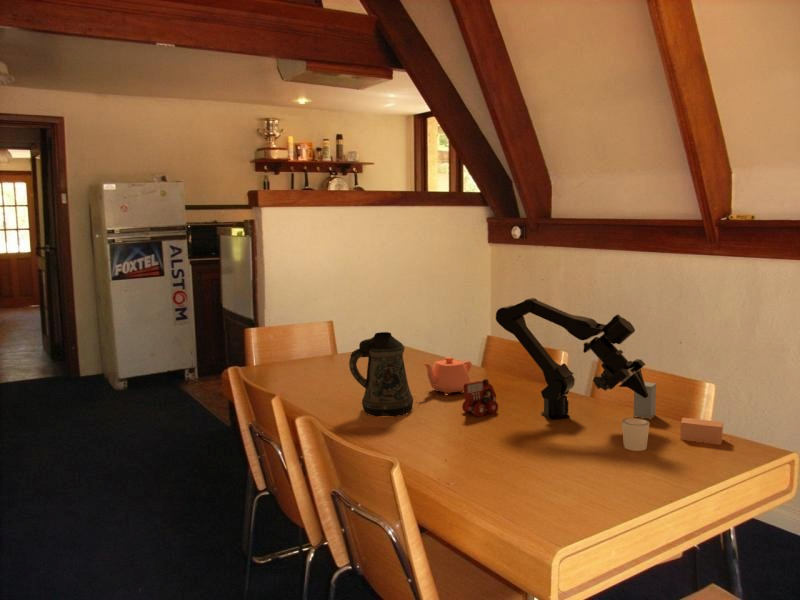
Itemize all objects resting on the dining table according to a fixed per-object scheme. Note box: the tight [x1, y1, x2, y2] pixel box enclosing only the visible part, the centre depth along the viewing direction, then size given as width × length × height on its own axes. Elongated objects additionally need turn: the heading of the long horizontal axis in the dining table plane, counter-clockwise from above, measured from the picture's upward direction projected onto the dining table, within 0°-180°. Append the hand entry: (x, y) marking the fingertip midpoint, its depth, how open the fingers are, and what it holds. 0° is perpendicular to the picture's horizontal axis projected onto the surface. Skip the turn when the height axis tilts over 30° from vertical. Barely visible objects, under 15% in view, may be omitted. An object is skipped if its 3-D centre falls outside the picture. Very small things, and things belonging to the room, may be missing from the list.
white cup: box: [621, 417, 650, 452], centre depth 178 cm, size 7×7×7 cm
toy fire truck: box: [461, 378, 499, 418], centre depth 212 cm, size 7×12×10 cm, turn 124°
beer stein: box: [348, 331, 414, 417], centre depth 215 cm, size 16×19×25 cm
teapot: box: [422, 356, 472, 395], centre depth 239 cm, size 13×20×12 cm, turn 118°
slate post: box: [633, 381, 657, 419], centre depth 205 cm, size 5×5×10 cm
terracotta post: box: [679, 417, 724, 446], centre depth 183 cm, size 5×5×10 cm
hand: (646, 397), depth 191 cm, fingers closed
